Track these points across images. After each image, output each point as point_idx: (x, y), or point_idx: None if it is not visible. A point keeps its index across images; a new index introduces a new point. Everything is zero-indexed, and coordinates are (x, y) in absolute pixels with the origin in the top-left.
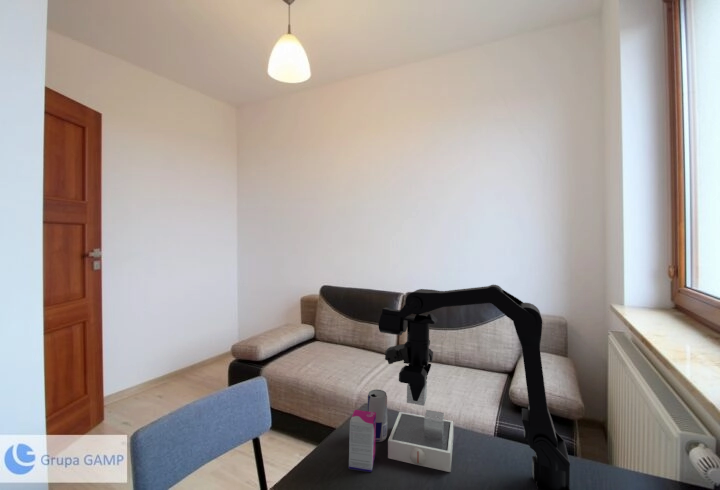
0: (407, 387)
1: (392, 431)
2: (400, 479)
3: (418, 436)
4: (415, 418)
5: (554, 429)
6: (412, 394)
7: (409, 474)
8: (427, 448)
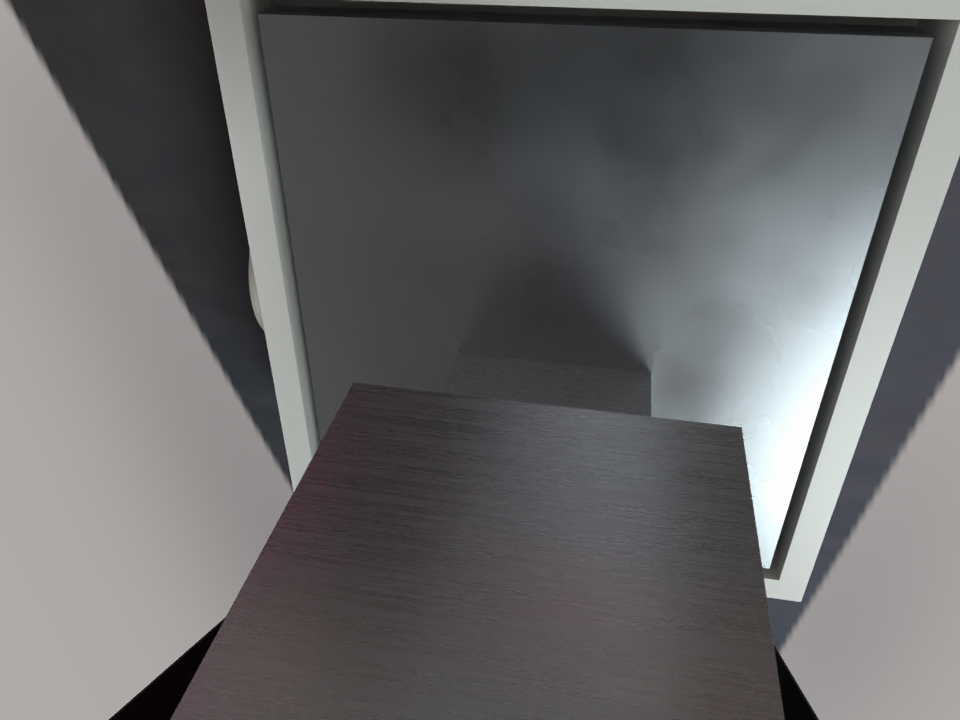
0: (192, 692)
1: None
2: (109, 109)
3: (431, 300)
4: (817, 247)
5: None
6: (197, 657)
7: (196, 173)
8: (276, 382)
